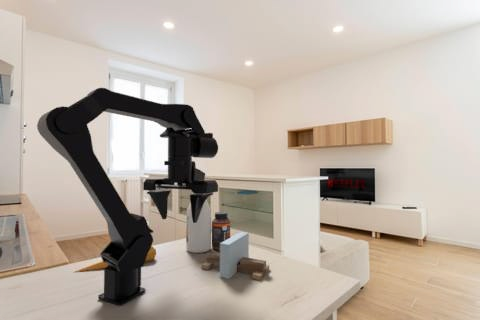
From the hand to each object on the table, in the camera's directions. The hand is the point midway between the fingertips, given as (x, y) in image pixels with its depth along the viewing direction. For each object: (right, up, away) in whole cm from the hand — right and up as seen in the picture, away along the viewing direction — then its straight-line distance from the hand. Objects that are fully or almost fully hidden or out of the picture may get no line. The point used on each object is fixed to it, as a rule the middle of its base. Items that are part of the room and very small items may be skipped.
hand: (179, 220), depth 63 cm
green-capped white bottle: (+2, -14, +19) cm, 23 cm away
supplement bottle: (+9, -14, +20) cm, 26 cm away
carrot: (-18, -14, +6) cm, 23 cm away
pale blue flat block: (+14, -13, +3) cm, 19 cm away
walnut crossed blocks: (+14, -13, +3) cm, 19 cm away
